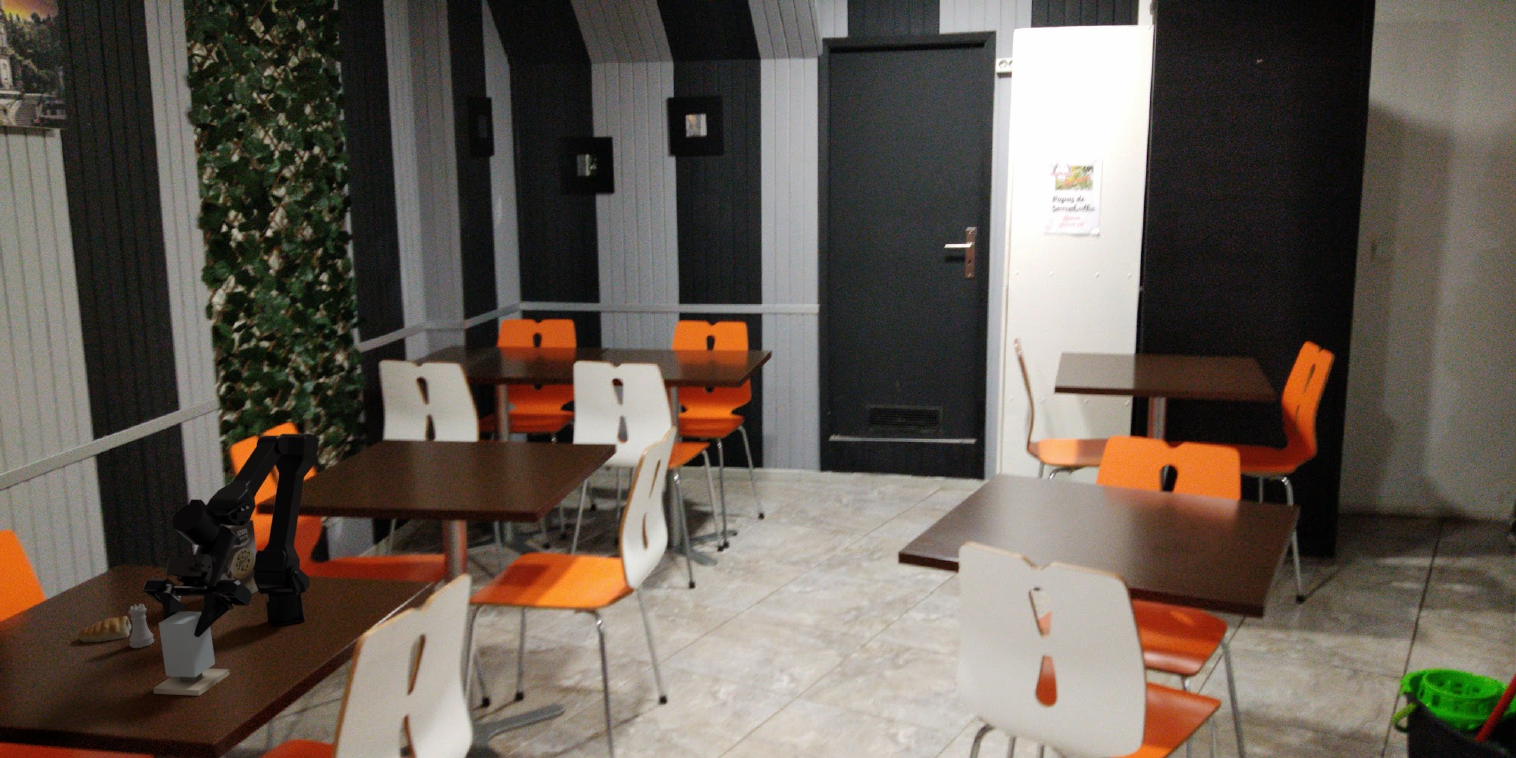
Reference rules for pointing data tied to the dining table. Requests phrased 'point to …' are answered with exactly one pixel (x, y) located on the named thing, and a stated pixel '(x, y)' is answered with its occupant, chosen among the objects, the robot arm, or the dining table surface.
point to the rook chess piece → (139, 628)
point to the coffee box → (242, 557)
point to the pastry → (106, 630)
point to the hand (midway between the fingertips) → (181, 635)
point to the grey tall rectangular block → (185, 645)
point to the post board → (191, 683)
